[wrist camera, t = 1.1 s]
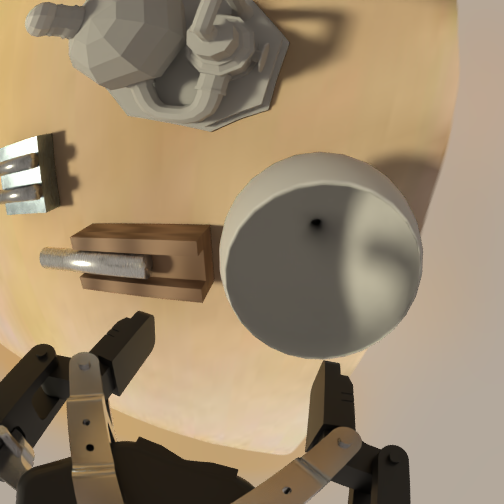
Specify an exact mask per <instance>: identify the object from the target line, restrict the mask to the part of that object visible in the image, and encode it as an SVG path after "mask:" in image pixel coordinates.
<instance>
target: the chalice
mask: <svg viewBox="0 0 504 504" xmlns="http://www.w3.org/2000/svg"><path fill="white" fill-rule="evenodd" d="M219 256H220V275H221V279H222V283H223V286H224V290H225V294H226V297H227V299H228V301H229V303H230V305H231V307H232V308H233V310H234V312H235V314H236V315H237V317H238V319H239V321H240V322H241V323H242V324H243V325H244V326H245V327H246V328H247V329H248V330H249V331H250V332H251V333H252V334H253V335H254V336H255V337H256V338H258V339H259V340H261V341H262V342H263V343H265V344H266V345H268V346H269V347H271V348H273V349H276V350H278V351H280V352H283V353H285V354H287V355H292V356H296V357H300V358H305V359H331V358H339V357H345V356H348V355H351V354H354V353H357V352H360V351H363V350H364V349H366V348H368V347H370V346H372V345H374V344H376V343H378V342H379V341H380V340H382V339H383V338H384V337H385V336H387V335H388V334H389V333H390V332H392V331H393V330H394V329H395V327H396V326H397V325H398V324H399V323H400V321H401V320H402V319H403V318H404V317H405V315H406V314H407V312H408V310H409V308H410V306H411V305H412V302H413V301H414V299H415V297H416V294H417V290H418V287H419V283H420V280H421V275H422V262H423V248H422V242H421V237H420V233H419V228H418V224H417V221H416V219H415V216H414V214H413V212H412V210H411V208H410V207H409V205H408V203H407V201H406V199H405V197H404V196H403V194H402V193H401V192H400V191H399V190H398V188H397V187H396V186H395V185H394V184H393V183H392V182H391V181H390V179H389V178H388V177H387V176H386V175H384V174H383V173H381V172H380V171H378V170H377V169H375V168H374V167H372V166H371V165H369V164H368V163H365V162H363V161H360V160H357V159H355V158H352V157H349V156H346V155H343V154H335V153H326V152H314V153H307V154H299V155H295V156H292V157H289V158H287V159H284V160H281V161H279V162H276V163H274V164H272V165H271V166H269V167H268V168H267V169H265V170H264V171H262V172H261V173H259V174H258V175H256V176H255V177H254V178H252V179H251V180H250V182H249V183H248V184H247V185H246V186H245V187H244V189H243V190H242V191H241V192H240V193H239V194H238V196H237V197H236V199H235V200H234V202H233V204H232V206H231V208H230V210H229V212H228V214H227V216H226V219H225V223H224V227H223V231H222V236H221V241H220V248H219Z"/></svg>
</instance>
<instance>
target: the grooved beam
mask: <svg viewBox="0 0 504 504" xmlns="http://www.w3.org/2000/svg"><path fill="white" fill-rule="evenodd" d="M70 239H71V244H72V248H73V250H82V251H99V252H117V253H134V254H150V255H151V257H152V260H153V269H152V273H151V276H150V277H149V278H148V279H137V278H127V277H117V276H107V275H98V274H88V273H84V274H83V275H82V276H81V277H80V280H81V283H82V287H83V289H90V290H97V291H104V292H111V293H119V294H127V295H135V296H143V297H152V298H161V299H170V300H180V301H190V302H201V303H203V301H204V299H205V297H206V295H207V293H208V291H209V289H210V288H211V286H212V284H213V282H214V272H213V259H212V246H211V231H210V225H189V224H91V225H89V226H88V227H86V228H84V229H83V230H81V231H79V232H78V233H76V234H75V235H73V236H71V237H70Z"/></svg>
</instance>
